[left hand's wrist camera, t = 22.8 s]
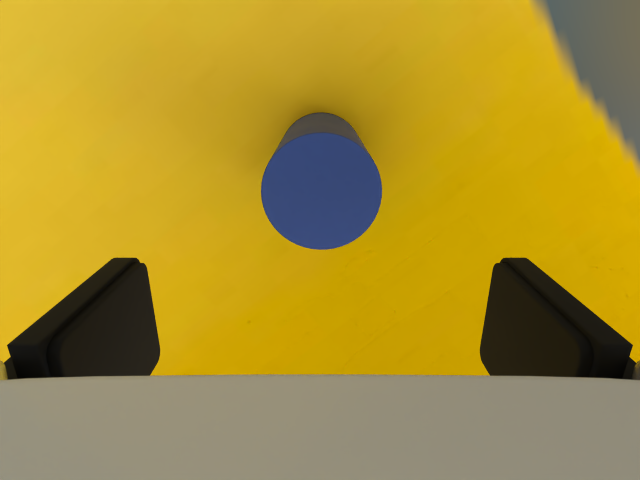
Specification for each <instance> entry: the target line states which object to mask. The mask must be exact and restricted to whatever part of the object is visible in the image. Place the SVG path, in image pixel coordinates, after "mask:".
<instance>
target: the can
mask: <svg viewBox="0 0 640 480" xmlns="http://www.w3.org/2000/svg"><path fill="white" fill-rule="evenodd" d="M261 197H262V203H263V207H264V210H265V213H266V215H267V217H268V219H269V221H270V222H271V224H272V225H273V227H274V228H275V229H276V230H277V231H278V232H279V233H280V234H281V235H282V236H284V237H285V238H286V239H288V240H289V241H291V242H293V243H295V244H297V245H300V246H303V247H306V248H310V249H332V248H337V247H341V246H343V245H346V244H348V243H350V242H352V241H354V240H355V239H357V238H358V237H359V236H361V235H362V234H363V233H364V232H365V231H366V230H367V229H368V228H369V226H370V225H371V224H372V222H373V221H374V219H375V217H376V215H377V213H378V210H379V207H380V203H381V198H382V185H381V179H380V174H379V172H378V169H377V166H376V165H375V163H374V161H373V159H372V158H371V156H370V154H369V153H368V151H367V150H366V148H365V146H364V145H363V143H362V142H361V140H360V138H359V137H358V135H357V134H356V132H355V130H354V129H353V128H352V127H351V125H350V124H349V123H347V122H346V121H345V120H344V119H342V118H340V117H338V116H336V115H333V114H329V113H313V114H309V115H306V116H304V117H302V118H300V119H299V120H297V121H296V122H295V123H294V124H293V125H292V126H291V127H290V128H289V129H288V131H287V132H286V134H285V135H284V137H283V139H282V141H281V142H280V144H279V146H278V147H277V149H276V151H275V153H274V154H273V156H272V158H271V159H270V161H269V163H268V165H267V167H266V169H265V172H264V175H263V179H262V185H261Z"/></svg>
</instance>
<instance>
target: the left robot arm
mask: <svg viewBox="0 0 640 480" xmlns="http://www.w3.org/2000/svg"><path fill="white" fill-rule="evenodd" d="M7 346H8V350H9V353H10V356H11V357H10V358H9V359H8V360H7V361H6V362H4V363H3V362H2V361H0V480H640V361H638V362H637V363H636V362H634V361H633V360H632V359H631V358H630V357H629V356H630V353H631V349H632V346H633V345H632V344H631V343H630V342H628V341H627V340H626V339H625V338H624V337H622V336H621V335H620V334H619V333H617V332H616V331H615V330H614V329H613V328H611V327H610V326H609V325H608V324H606V323H605V322H604V321H603V320H602V319H600V318H599V317H598V316H597V315H596V314H594V313H593V312H592V311H591V310H589V309H588V308H587V307H586V306H585V305H583V304H582V303H581V302H580V301H578V300H577V299H576V298H575V297H574V296H572V295H571V294H570V293H569V292H568V291H566V290H565V289H564V288H563V287H561V286H560V285H559V284H558V283H557V282H555V281H554V280H553V279H552V278H550V277H549V276H548V275H547V274H546V273H544V272H543V271H542V270H541V269H540V268H538V267H537V266H536V265H535V264H533V263H532V262H531V261H530V260H529V259H527V258H503V259H502V260H501V262H500V263H496V264H495V265H494V267H493V272H492V278H491V284H490V290H489V296H488V302H487V308H486V315H485V321H484V327H483V333H482V339H481V345H480V356H481V360H482V363H483V364H484V366H485V368H486V369H487V371H488V373H489V374H490V376H461V375H176V376H150V374H151V373H152V371H153V369H154V368H155V366H156V364H157V363H158V360H159V356H160V345H159V339H158V333H157V327H156V321H155V315H154V308H153V302H152V296H151V290H150V284H149V278H148V272H147V267H146V265H145V264H144V263H140V262H139V260H138V259H137V258H113V259H111V260H110V261H109V262H108V263H107V264H105V265H104V266H103V267H102V268H100V269H99V270H98V271H97V272H96V273H94V274H93V275H92V276H91V277H90V278H88V279H87V280H86V281H85V282H83V283H82V284H81V285H80V286H79V287H77V288H76V289H75V290H74V291H72V292H71V293H70V294H69V295H68V296H66V297H65V298H64V299H63V300H62V301H60V302H59V303H58V304H57V305H55V306H54V307H53V308H52V309H51V310H49V311H48V312H47V313H46V314H44V315H43V316H42V317H41V318H40V319H38V320H37V321H36V322H35V323H34V324H32V325H31V326H30V327H29V328H27V329H26V330H25V331H24V332H23V333H21V334H20V335H19V336H18V337H16V338H15V339H14V340H13V341H12V342H10V343H9V344H8V345H7Z"/></svg>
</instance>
